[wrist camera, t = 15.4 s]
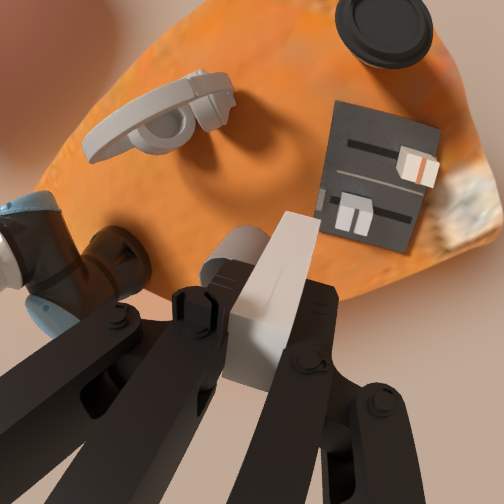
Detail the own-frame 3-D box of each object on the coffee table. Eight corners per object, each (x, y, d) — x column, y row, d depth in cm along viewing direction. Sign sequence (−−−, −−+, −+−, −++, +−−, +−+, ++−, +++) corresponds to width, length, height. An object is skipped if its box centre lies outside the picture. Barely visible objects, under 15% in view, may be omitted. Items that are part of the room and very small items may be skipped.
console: (313, 223, 45) (309, 232, 42) (335, 100, 36) (334, 100, 33) (403, 246, 42) (405, 257, 40) (437, 128, 33) (444, 131, 30)
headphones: (162, 158, 47) (71, 203, 31) (142, 114, 45) (44, 142, 28) (268, 107, 39) (201, 124, 22) (244, 56, 36) (161, 39, 19)
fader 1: (337, 213, 41) (334, 228, 36) (342, 191, 39) (340, 205, 35) (365, 220, 40) (366, 237, 36) (371, 199, 38) (373, 213, 34)
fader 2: (395, 168, 35) (401, 179, 31) (401, 145, 34) (407, 152, 29) (424, 176, 34) (433, 188, 30) (430, 154, 33) (440, 163, 28)
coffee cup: (423, 51, 28) (459, 32, 16) (375, 89, 33) (388, 87, 21) (374, 0, 27) (382, -44, 15) (326, 39, 32) (310, 11, 19)
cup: (262, 279, 53) (242, 317, 45) (219, 255, 53) (192, 289, 45) (283, 241, 48) (266, 276, 40) (236, 215, 48) (209, 245, 40)
